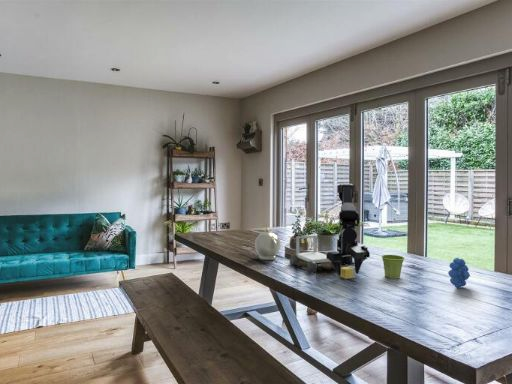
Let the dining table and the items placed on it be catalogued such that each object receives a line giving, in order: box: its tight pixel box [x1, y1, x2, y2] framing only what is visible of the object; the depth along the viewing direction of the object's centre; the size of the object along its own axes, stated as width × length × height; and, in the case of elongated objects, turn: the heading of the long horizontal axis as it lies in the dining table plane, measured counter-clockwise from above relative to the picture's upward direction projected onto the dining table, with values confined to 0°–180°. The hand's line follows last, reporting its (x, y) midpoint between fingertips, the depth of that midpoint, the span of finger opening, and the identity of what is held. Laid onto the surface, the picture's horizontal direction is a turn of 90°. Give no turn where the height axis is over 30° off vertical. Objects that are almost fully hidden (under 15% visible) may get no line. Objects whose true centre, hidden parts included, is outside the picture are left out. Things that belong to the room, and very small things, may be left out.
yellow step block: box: [337, 266, 355, 280], centre depth 161 cm, size 4×6×4 cm, turn 23°
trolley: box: [289, 234, 336, 273], centre depth 178 cm, size 21×15×14 cm
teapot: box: [254, 227, 281, 261], centre depth 195 cm, size 18×14×16 cm
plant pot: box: [380, 254, 406, 280], centre depth 160 cm, size 9×9×9 cm
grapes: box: [447, 257, 471, 289], centre depth 142 cm, size 12×7×12 cm, turn 123°
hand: (348, 274), depth 159 cm, fingers open, 9 cm apart
